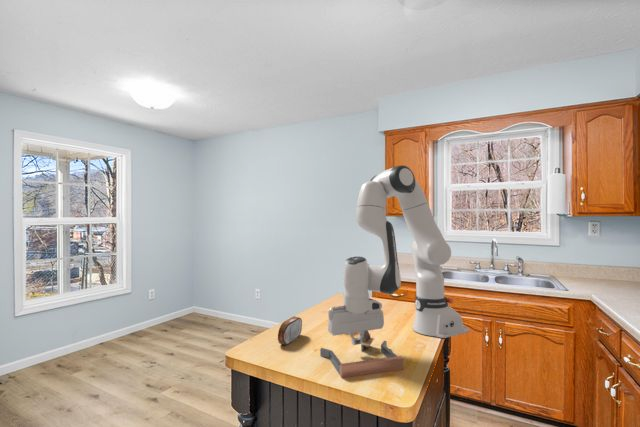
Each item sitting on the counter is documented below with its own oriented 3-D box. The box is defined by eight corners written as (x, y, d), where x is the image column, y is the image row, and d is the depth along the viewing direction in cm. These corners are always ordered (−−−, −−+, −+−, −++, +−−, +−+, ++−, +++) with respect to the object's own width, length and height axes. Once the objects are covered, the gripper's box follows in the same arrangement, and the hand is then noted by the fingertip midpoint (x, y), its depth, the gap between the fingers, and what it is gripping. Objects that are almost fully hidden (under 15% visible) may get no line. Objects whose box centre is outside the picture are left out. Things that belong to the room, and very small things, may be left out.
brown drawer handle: (385, 347, 119) (385, 337, 119) (409, 368, 103) (409, 357, 103) (319, 355, 113) (319, 345, 113) (334, 378, 96) (334, 367, 96)
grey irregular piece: (374, 348, 119) (374, 327, 119) (369, 355, 113) (369, 334, 113) (365, 346, 121) (365, 326, 121) (360, 354, 114) (360, 332, 114)
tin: (296, 333, 133) (296, 313, 133) (303, 335, 132) (303, 314, 132) (277, 347, 120) (276, 324, 120) (284, 349, 118) (284, 325, 118)
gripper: (332, 310, 106) (332, 352, 106) (386, 303, 114) (386, 343, 114) (325, 305, 112) (325, 345, 112) (376, 299, 119) (377, 336, 119)
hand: (356, 344), depth 113 cm, fingers closed
